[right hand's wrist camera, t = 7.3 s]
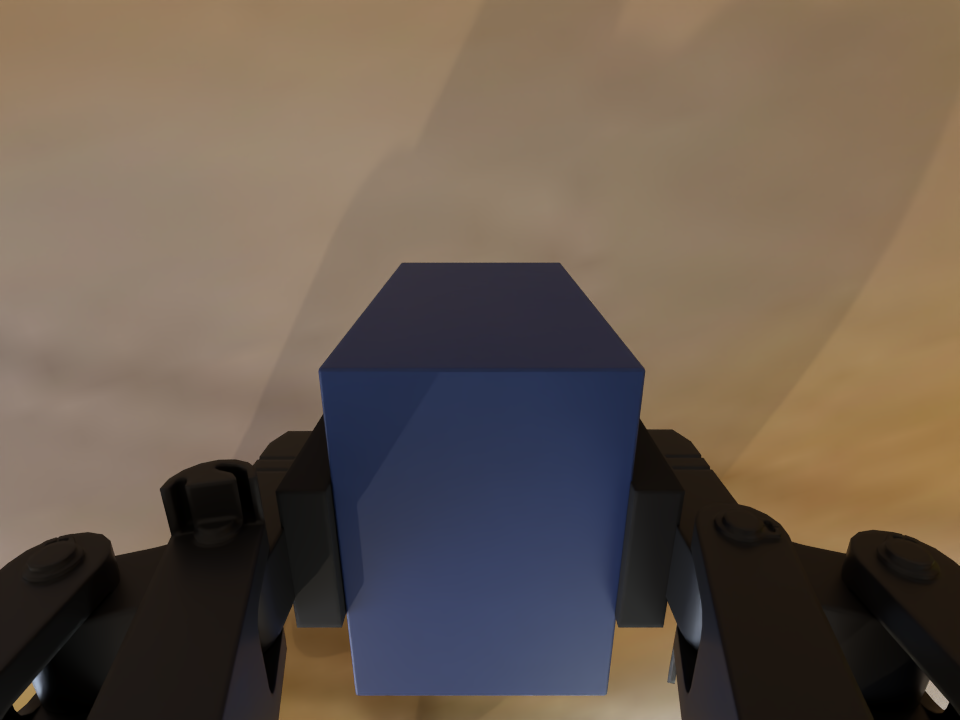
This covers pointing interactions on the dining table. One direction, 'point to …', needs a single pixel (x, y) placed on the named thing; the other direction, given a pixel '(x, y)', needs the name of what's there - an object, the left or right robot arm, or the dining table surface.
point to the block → (481, 481)
